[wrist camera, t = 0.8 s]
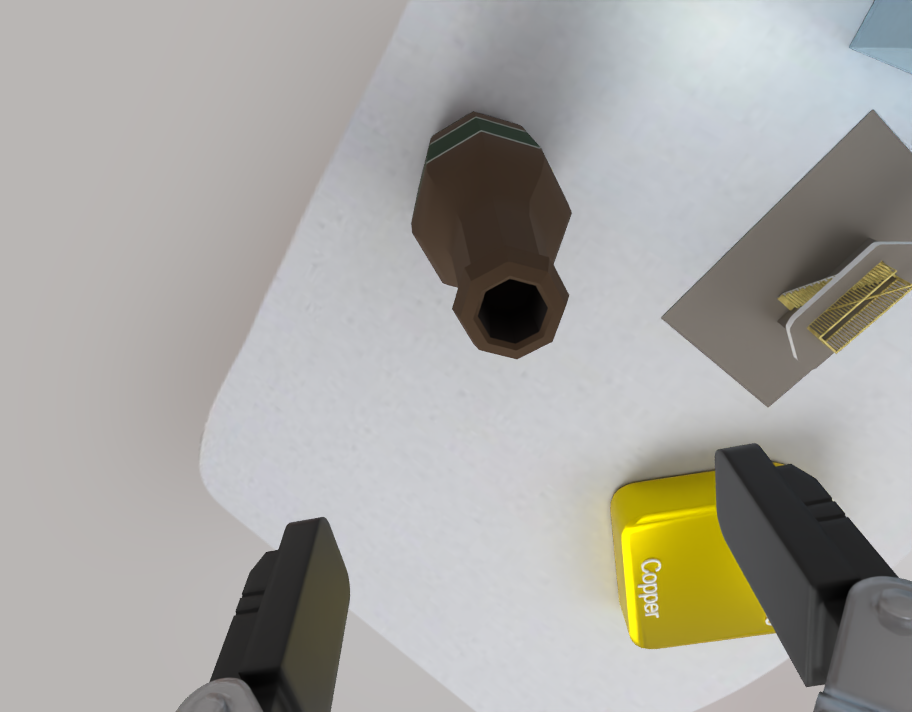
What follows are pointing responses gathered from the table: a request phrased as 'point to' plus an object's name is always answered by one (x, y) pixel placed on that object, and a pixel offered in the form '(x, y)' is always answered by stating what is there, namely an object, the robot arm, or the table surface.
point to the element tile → (679, 566)
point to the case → (887, 33)
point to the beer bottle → (494, 232)
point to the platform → (809, 268)
